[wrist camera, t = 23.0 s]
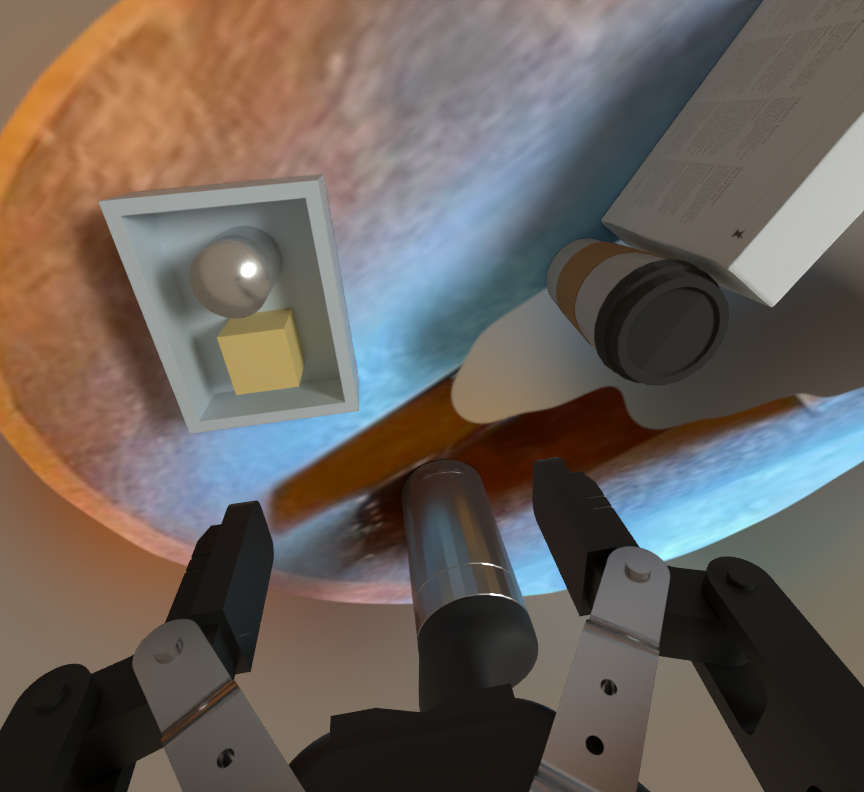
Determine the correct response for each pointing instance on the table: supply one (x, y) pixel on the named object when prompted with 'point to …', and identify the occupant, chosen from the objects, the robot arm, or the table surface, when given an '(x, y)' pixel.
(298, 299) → the tote
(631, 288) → the coffee cup
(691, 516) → the table surface
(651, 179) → the skincare box
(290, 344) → the ochre cube
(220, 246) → the metal cylinder
